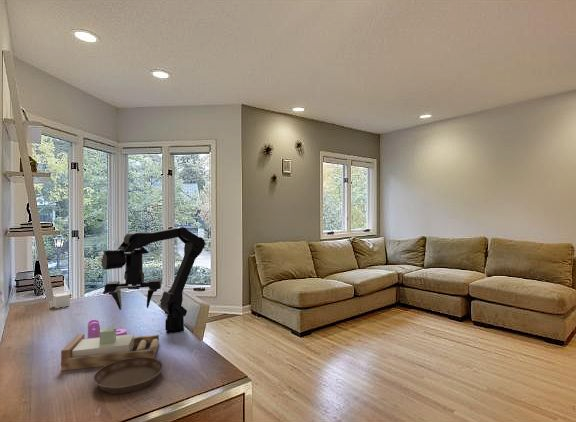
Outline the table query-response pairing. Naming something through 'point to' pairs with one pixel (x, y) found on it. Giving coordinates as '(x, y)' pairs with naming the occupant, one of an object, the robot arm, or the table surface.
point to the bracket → (95, 329)
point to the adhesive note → (61, 300)
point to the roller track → (106, 359)
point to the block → (108, 335)
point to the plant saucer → (128, 374)
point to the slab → (103, 346)
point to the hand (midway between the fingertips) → (134, 308)
